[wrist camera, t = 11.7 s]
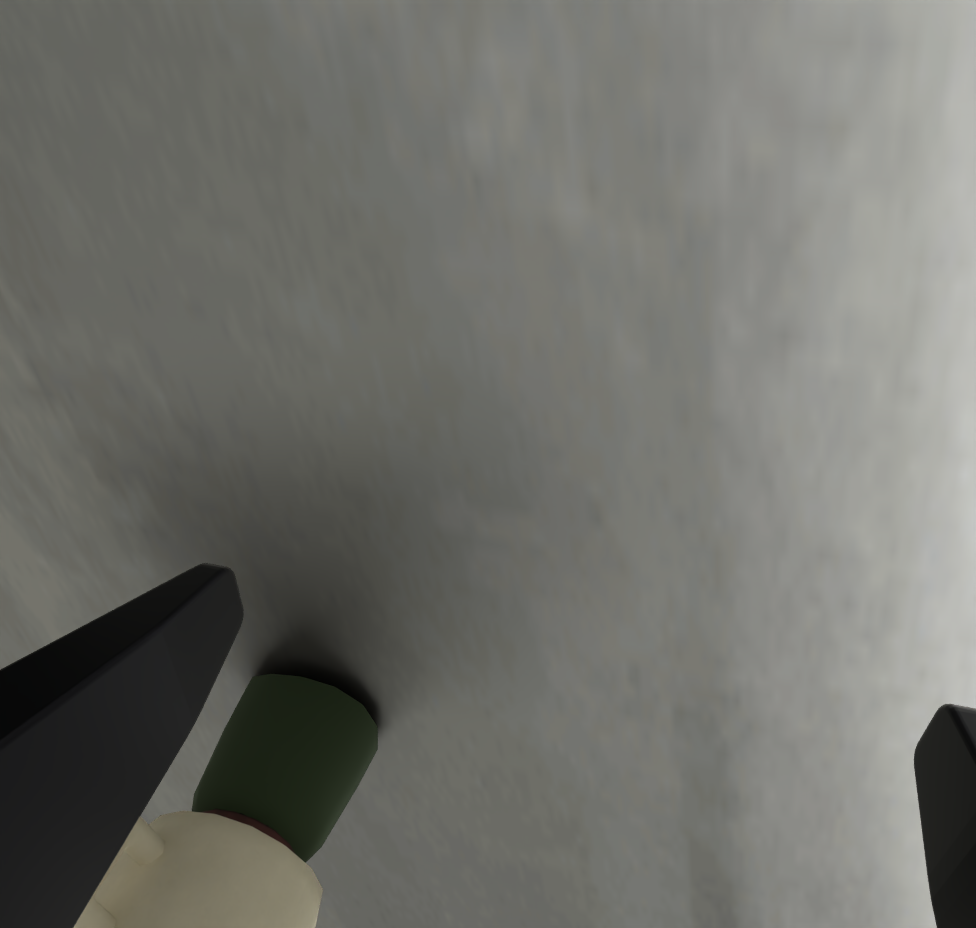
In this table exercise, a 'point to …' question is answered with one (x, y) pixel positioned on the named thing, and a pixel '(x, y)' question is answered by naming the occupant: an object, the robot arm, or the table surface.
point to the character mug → (247, 818)
